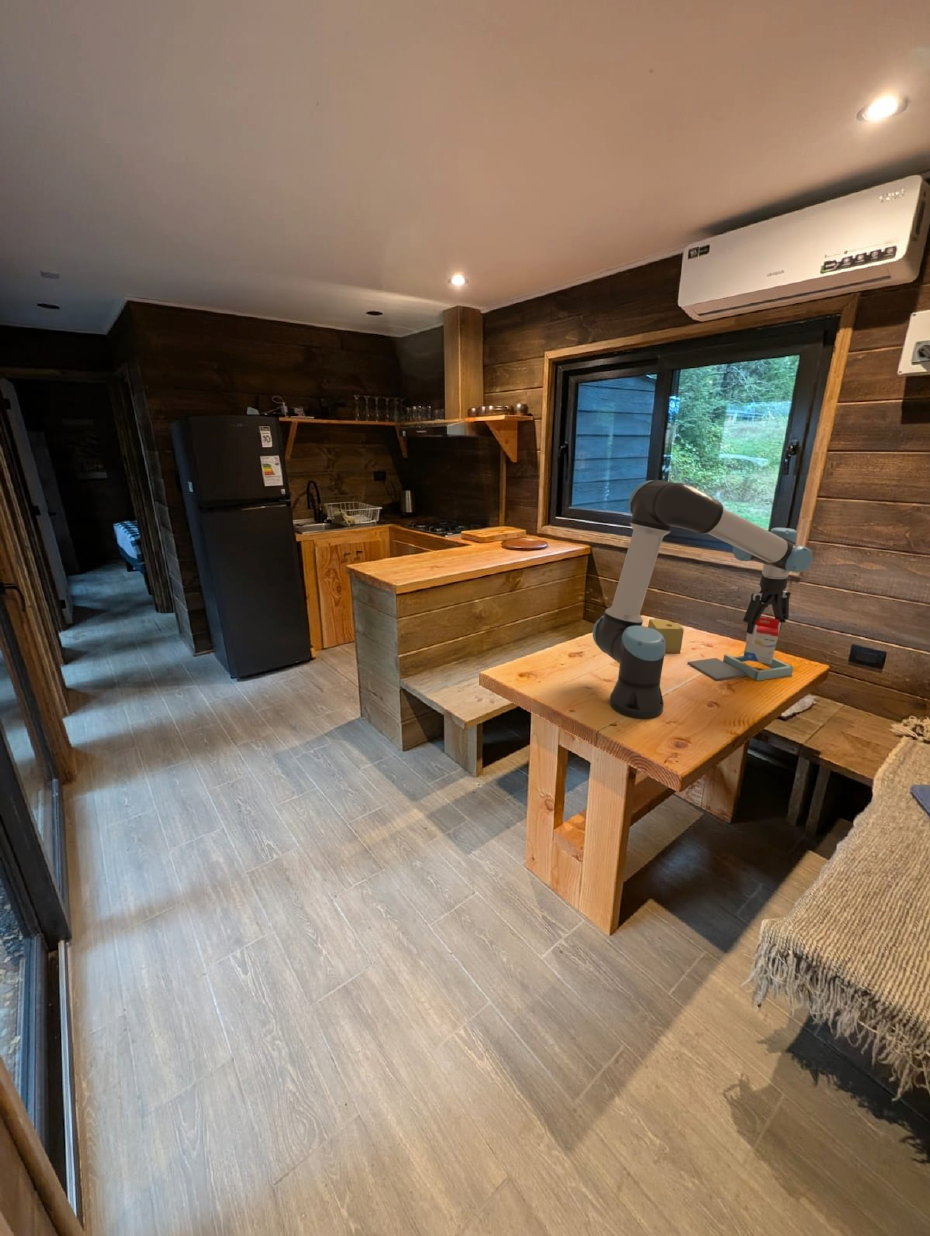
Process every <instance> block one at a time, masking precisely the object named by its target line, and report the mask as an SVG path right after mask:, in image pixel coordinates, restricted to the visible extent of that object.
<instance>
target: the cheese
mask: <svg viewBox="0 0 930 1236" xmlns="http://www.w3.org/2000/svg"><path fill="white" fill-rule="evenodd" d="M647 628H652V629H654V630H656V631H658V632H659V633H661V634H662V635H663V637H664V639H665V653H669V654H670V653H671V654H674V653H675V654H680V653H681V650H682V644H683V639H684V638H683V637H684V630H685V629H684V628H683V626H682V625H681V624H680V623H679V622H672V621H671V620H669V619H668V620H667V619H658V618H649V620H648V625H647Z"/></svg>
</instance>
